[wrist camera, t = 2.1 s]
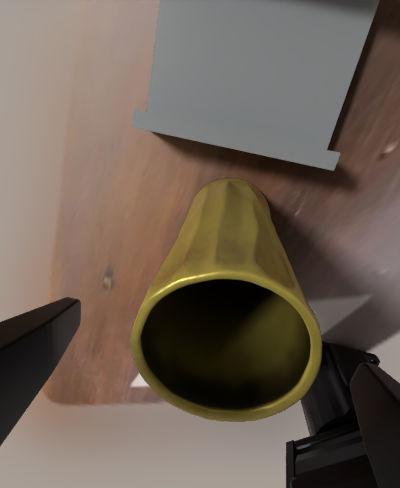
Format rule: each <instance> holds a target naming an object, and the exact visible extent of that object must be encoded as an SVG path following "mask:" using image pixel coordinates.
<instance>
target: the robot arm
mask: <svg viewBox="0 0 400 488" xmlns="http://www.w3.org/2000/svg"><path fill="white" fill-rule="evenodd" d="M80 320H81V302H80V300H78V299H74V298H70V297H66V298H63V299H61V300H58V301H55V302H53V303H50V304H47V305H45V306H42V307H39V308H37V309H34V310H31V311H29V312H26V313H23V314H21V315H18V316H15V317H13V318H10V319H7V320H4V321H2V322H0V446H1V444H2V443H3V442H4V440H5V439H6V437H7V436H8V435H9V433H10V432H11V430H12V429H13V427H14V426H15V425H16V423H17V422H18V421H19V419H20V418H21V416H22V415H23V413H24V412H25V411H26V409H27V408H28V406H29V405H30V404H31V402H32V401H33V400H34V398H35V397H36V395H37V394H38V392H39V391H40V390H41V388H42V387H43V386H44V384H45V383H46V381H47V380H48V379H49V377H50V376H51V374H52V373H53V371H54V370H55V368H56V366H57V365H58V363H59V361H60V359H61V358H62V356H63V354H64V352H65V351H66V349H67V347H68V345H69V343H70V342H71V340H72V338H73V336H74V335H75V333H76V331H77V329H78V328H79V325H80ZM371 360H373V361H371ZM379 363H380V361H379V359H378V357H377V356H376V355H374V354H371V353H367V352H362V351H360V350H356V349H352V348H348V347H343V346H339V345H335V344H329V343H324V342H322V358H321V365H320V369H319V372H318V374H317V376H316V378H315V380H314V382H313V384H312V386H311V387H310V389H309V390H308V392H307V393H306V394H305V395H304V396H303V398H301V399H300V400H301V404H302V407H303V411H304V415H305V418H306V422H307V426H308V430H309V433H310V436H309V437H306V438H303V439H300V440H298V441H293V440H292V441H289V442H287V443H286V488H400V383H398V382H397V381H396V380H395V379H393V378H392V377H391V376H390V375H388V374H387V373H386V372H385V371H383V370H382V369H381V368H380V367H378V365H379Z"/></svg>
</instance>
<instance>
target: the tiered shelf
mask: <svg viewBox="0 0 400 488" xmlns="http://www.w3.org/2000/svg"><path fill="white" fill-rule="evenodd" d="M379 1H380V0H160V3H159V11H158V20H157V29H156V38H155V46H154V55H153V64H152V72H151V81H150V90H149V99H148V107H147V111H142V110H138V109H134V114H133V124H132V127H133V128H138V129H143V130H147V131H152V132H156V133H161V134H166V135H170V136H175V137H180V138H184V139H189V140H193V141H198V142H203V143H207V144H212V145H217V146H221V147H226V148H230V149H235V150H240V151H244V152H249V153H254V154H258V155H263V156H267V157H272V158H277V159H281V160H286V161H291V162H295V163H300V164H304V165H309V166H314V167H318V168H323V169H328V170H332V171H334V169H335V167H336V164H337V161H338V159H339V156H340V153H339V152H334V151H329V150H327V148H328V145H329V142H330V139H331V137H332V134H333V131H334V128H335V125H336V123H337V120H338V117H339V114H340V111H341V108H342V106H343V103H344V100H345V97H346V94H347V91H348V89H349V86H350V83H351V80H352V77H353V74H354V72H355V69H356V66H357V63H358V60H359V57H360V55H361V52H362V49H363V46H364V43H365V40H366V38H367V35H368V32H369V29H370V26H371V24H372V21H373V18H374V15H375V12H376V9H377V7H378V4H379Z"/></svg>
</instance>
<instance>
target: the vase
mask: <svg viewBox="0 0 400 488" xmlns="http://www.w3.org/2000/svg"><path fill="white" fill-rule="evenodd" d="M130 339H131V350H132V356H133V359H134V362H135V365H136V367H137V369H138V371H139V373H140V374H141V376H142V377H143V379H144V380H145V381H146V382H147V384H148V385H149V386H150V387H151V388H152V389H153V390H154V391H155V392H156V393H157V394H158V395H159V396H160V397H161V398H163V399H164V400H165V401H167V402H168V403H170V404H171V405H173V406H175V407H177V408H180V409H181V410H183V411H186V412H188V413H190V414H193V415H196V416H199V417H202V418H206V419H210V420H217V421H229V422H245V421H253V420H258V419H263V418H266V417H269V416H272V415H275V414H277V413H280V412H282V411H283V410H285V409H287V408H289V407H290V406H292V405H293V404H295V403H296V402H298V401H299V400H300V399H301V398H303V396H304V395H305V394H306V393H307V392H308V390H309V389H310V387H311V386H312V384H313V382H314V380H315V378H316V376H317V374H318V372H319V369H320V365H321V358H322V338H321V332H320V327H319V324H318V321H317V318H316V317H315V315H314V313H313V311H312V309H311V308H310V306H309V304H308V302H307V300H306V298H305V296H304V294H303V292H302V290H301V288H300V286H299V284H298V282H297V279H296V277H295V274H294V272H293V269H292V267H291V265H290V262H289V260H288V258H287V255H286V253H285V251H284V248H283V246H282V244H281V242H280V240H279V238H278V236H277V233H276V230H275V227H274V225H273V223H272V221H271V215H270V209H269V205H268V203H267V201H266V198H265V197H264V196H263V194H262V193H261V192H260V191H259V190H258V189H257V188H256V187H254V186H253V185H251V184H250V183H248V182H245V181H243V180H239V179H231V178H227V179H222V180H218V181H215V182H213V183H210V184H208V185H207V186H205V187H204V188H203V189H202V190H201V191H200V192H199V193H198V194H197V195H196V196H195V198H194V200H193V202H192V204H191V207H190V211H189V213H188V216H187V218H186V220H185V223H184V225H183V226H182V228H181V231H180V234H179V236H178V239H177V241H176V242H175V244H174V246H173V248H172V250H171V251H170V253H169V255H168V256H167V258H166V260H165V261H164V263H163V264H162V266H161V268H160V269H159V271H158V273H157V275H156V276H155V278H154V280H153V282H152V284H151V285H150V287H149V289H148V292H147V294H146V296H145V299H144V301H143V303H142V305H141V307H140V310H139V312H138V315H137V317H136V320H135V323H134V325H133V329H132V333H131V338H130Z"/></svg>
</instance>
